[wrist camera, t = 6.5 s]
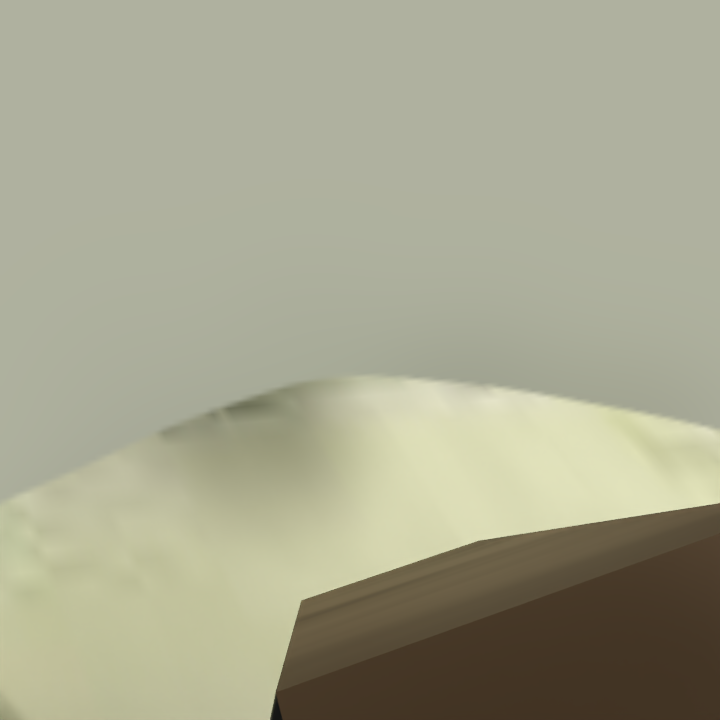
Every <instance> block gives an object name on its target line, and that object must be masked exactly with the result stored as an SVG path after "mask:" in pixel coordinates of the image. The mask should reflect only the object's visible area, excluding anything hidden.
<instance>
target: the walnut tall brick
mask: <svg viewBox="0 0 720 720" xmlns="http://www.w3.org/2000/svg"><path fill="white" fill-rule="evenodd" d="M276 695H277V699H278V703H279V707H280V711H281V715H282V719H283V720H720V503H719V504H712V505H706V506H700V507H693V508H687V509H680V510H674V511H668V512H661V513H655V514H648V515H642V516H635V517H629V518H623V519H616V520H610V521H603V522H597V523H590V524H584V525H578V526H571V527H565V528H558V529H552V530H545V531H539V532H533V533H526V534H520V535H513V536H507V537H500V538H494V539H488V540H481V541H477V542H474V543H471V544H468V545H465V546H462V547H459V548H456V549H453V550H450V551H447V552H444V553H441V554H438V555H435V556H432V557H429V558H427V559H424V560H421V561H418V562H415V563H412V564H409V565H406V566H403V567H400V568H397V569H394V570H391V571H388V572H385V573H382V574H379V575H376V576H373V577H370V578H367V579H364V580H361V581H358V582H355V583H352V584H349V585H346V586H343V587H340V588H337V589H334V590H331V591H328V592H326V593H323V594H320V595H317V596H314V597H311V598H308V599H305V600H302V601H301V604H300V608H299V611H298V615H297V618H296V622H295V625H294V629H293V633H292V636H291V640H290V643H289V647H288V650H287V654H286V657H285V661H284V665H283V668H282V672H281V675H280V679H279V682H278V686H277V690H276Z"/></svg>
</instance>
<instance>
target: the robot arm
mask: <svg viewBox="0 0 720 720" xmlns="http://www.w3.org/2000/svg"><path fill="white" fill-rule="evenodd" d="M270 720H283V719H282V715H281V711H280V707H279V703H278V699H277V695H276V694H275V699H274V704H273V709H272V713H271V718H270Z"/></svg>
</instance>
